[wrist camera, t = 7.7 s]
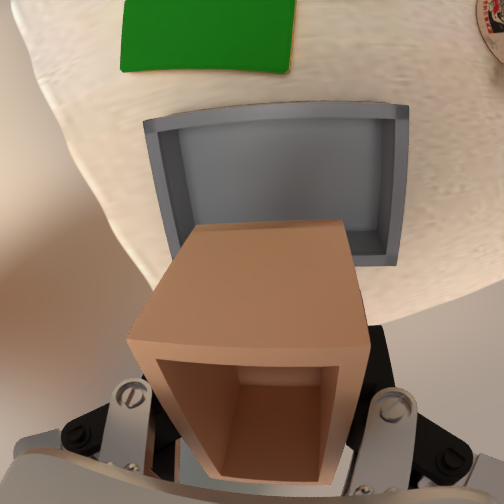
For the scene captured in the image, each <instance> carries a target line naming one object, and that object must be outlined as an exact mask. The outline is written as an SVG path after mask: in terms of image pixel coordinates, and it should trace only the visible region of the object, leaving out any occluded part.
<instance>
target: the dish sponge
mask: <svg viewBox="0 0 504 504" xmlns="http://www.w3.org/2000/svg"><path fill="white" fill-rule="evenodd" d="M295 9H296V0H126V1H125V4H124V14H123V25H122V39H121V57H120V70H121V71H122V72H123V73H125V72H140V71H155V70H181V69H215V70H241V71H256V72H268V73H279V74H286V73H287V72H289V71H290V62H291V52H292V41H293V31H294V20H295Z"/></svg>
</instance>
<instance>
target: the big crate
mask: <svg viewBox="0 0 504 504" xmlns="http://www.w3.org/2000/svg"><path fill="white" fill-rule="evenodd" d="M143 126H144V132H145V138H146V143H147V149H148V154H149V159H150V164H151V169H152V174H153V179H154V184H155V189H156V193H157V198H158V202H159V207H160V211H161V216H162V220H163V224H164V228H165V233H166V237H167V241H168V245H169V249H170V253H171V257H172V260H174V258H175V256H176V255H177V253H178V252H179V250H180V249H181V247H182V246H183V244H184V242H185V241H186V239H187V238H188V236H189V235H190V233H191V232H192V230H193V229H194V227H195V226H196V225H204V224H224V223H245V222H269V221H297V220H332V219H342V220H343V224H344V228H345V231H346V235H347V239H348V243H349V247H350V251H351V255H352V259H353V263H354V266H396V264H397V258H398V252H399V245H400V238H401V230H402V222H403V213H404V204H405V193H406V181H407V166H408V146H409V106H408V105H399V104H390V103H384V102H364V101H296V102H275V103H260V104H248V105H237V106H228V107H219V108H211V109H203V110H196V111H190V112H183V113H177V114H171V115H168V116H165V117H159V118H154V119H149V120H145V121H143Z"/></svg>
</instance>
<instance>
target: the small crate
mask: <svg viewBox="0 0 504 504" xmlns="http://www.w3.org/2000/svg"><path fill="white" fill-rule="evenodd" d="M126 341H127V343H128V345H129V347H130V349H131V351H132V353H133V354H134V357H135V359H136V360H137V362H138V364H139V366H140V368H141V370H142V372H143V374H144V375H145V377H146V379H147V381H148V383H149V384H150V386H151V388H152V390H153V391H154V393H155V395H156V396H157V398H158V400H159V402H160V403H161V405H162V407H163V408H164V410H165V411H166V413H167V415H168V416H169V418H170V420H171V421H172V423H173V424H174V426H175V427H176V429H177V431H178V432H179V434H180V435H181V437H182V438H183V440H184V441H185V443H186V444H187V446H188V447H189V448H190V450H191V451H192V453H193V454H194V456H195V457H196V458H197V460H198V461H199V463H200V464H201V465H202V467H203V468H204V469H205V471H206V472H207V474H208V475H209V476H210V478H214V479H222V480H229V481H237V482H248V483H259V484H275V485H331V483H332V480H333V478H334V475H335V472H336V470H337V467H338V464H339V461H340V458H341V455H342V452H343V449H344V446H345V443H346V440H347V437H348V434H349V430H350V427H351V424H352V420H353V417H354V413H355V410H356V406H357V402H358V399H359V395H360V391H361V387H362V383H363V379H364V375H365V371H366V367H367V362H368V358H369V353H370V348H371V343H370V338H369V333H368V327H367V322H366V317H365V312H364V307H363V303H362V298H361V293H360V289H359V284H358V280H357V275H356V271H355V267H354V263H353V259H352V255H351V251H350V247H349V243H348V239H347V235H346V231H345V228H344V224H343V220H342V219H332V220H297V221H269V222H245V223H224V224H204V225H196V226H195V227H194V229H193V230H192V232H191V233H190V235H189V236H188V238H187V239H186V241H185V242H184V244H183V246H182V247H181V249H180V250H179V252H178V253H177V255H176V256H175V258H174V260H173V261H172V263H171V264H170V266H169V267H168V269H167V271H166V272H165V274H164V275H163V277H162V279H161V280H160V282H159V283H158V285H157V287H156V288H155V290H154V292H153V293H152V295H151V297H150V298H149V300H148V302H147V303H146V305H145V307H144V308H143V310H142V312H141V313H140V315H139V316H138V318H137V320H136V322H135V323H134V325H133V327H132V328H131V330H130V332H129V333H128V335H127V337H126Z"/></svg>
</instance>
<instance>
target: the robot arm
mask: <svg viewBox="0 0 504 504" xmlns="http://www.w3.org/2000/svg"><path fill="white" fill-rule="evenodd" d="M360 293H361V291H360ZM361 298H362V295H361ZM362 303H363V300H362ZM363 307H364V305H363ZM364 312H365V310H364ZM365 317H366V315H365ZM366 322H367V319H366ZM367 327H368V333H369V338H370V343H371V348H370V353H369V358H368V362H367V367H366V371H365V375H364V379H363V383H362V387H361V391H360V395H359V399H358V402H357V406H356V410H355V413H354V417H353V420H352V424H351V427H350V430H349V434H348V437H347V440H346V445H347V446H349V447H350V448H351V449H352V450H353V454H352V459H351V462H350V466H349V470H348V473H347V477H346V481H345V484H344V487H343V491H342V494H341V496H340V497H279V496H262V495H251V494H241V493H232V492H225V491H218V490H210V489H205V488H199V487H194V486H188V485H184V484H180V440H181V439H180V438H181V435H180V434H179V432H178V431H177V429H176V427H175V426H174V424H173V423H172V421H171V420H170V418H169V416H168V415H167V413H166V411H165V410H164V408H163V407H162V405H161V403H160V402H159V400H158V398H157V396H156V395H155V393H154V391H153V390H152V388H151V386H150V384H149V383H148V381H147V379H146V377H145V375H144V374H143V376H142V378H141V379H140V378H131V379H127V380H125V381H122V382H121V383H120V384H119V385H118V386H117V387H116V388H115V389H114V391H113V393H112V397H111V401H110V403H108V404H106V405H104V406H102V407H99V408H97V409H95V410H93V411H91V412H89V413H87V414H85V415H82V416H80V417H78V418H76V419H74V420H72V421H71V422H69V423H67V424H66V425H65V427H64V428H63V430H62V431H61V430H59V429H55V430H51V431H48V432H44V433H40V434H36V435H32V436H28V437H24V438H22V439H20V440H19V441H18V442H17V443H16V445H15V447H14V452H13V453H14V454H13V455H14V461H13V462H12V464H11V465H10V467H9V468H8V470H7V472H6V473H5V475H4V477H3V479H2V481H1V483H0V504H504V461H501V460H498V459H495V458H493V457H490V456H487V455H485V454H482V453H480V454H479V455H477V454H474V453H472V450H471V448H470V447H469V445H468V444H466V443H465V442H464V441H462V440H461V439H459V438H457V437H456V436H454V435H452V434H451V433H449V432H448V431H446V430H444V429H443V428H441V427H440V426H438V425H436V424H435V423H433V422H432V421H430V420H429V419H427V418H425V417H424V416H422V415H421V414H419V413H418V412H417V402H416V400H415V398H414V397H413V395H412V394H411V393H409V392H408V391H406V390H404V389H402V388H397V387H395V383H394V377H393V372H392V367H391V362H390V358H389V353H388V349H387V344H386V339H385V335H384V331H383V328H382V326H381V325H374V326H368V325H367Z"/></svg>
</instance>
